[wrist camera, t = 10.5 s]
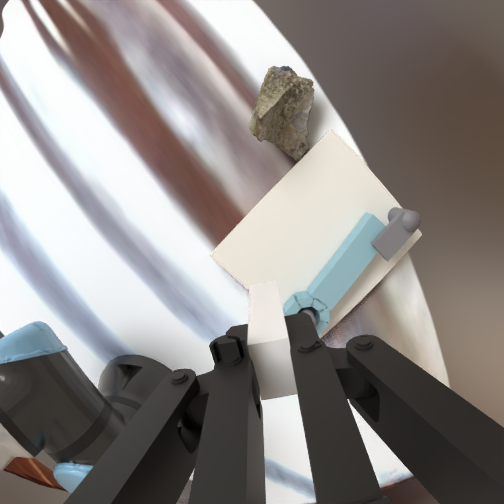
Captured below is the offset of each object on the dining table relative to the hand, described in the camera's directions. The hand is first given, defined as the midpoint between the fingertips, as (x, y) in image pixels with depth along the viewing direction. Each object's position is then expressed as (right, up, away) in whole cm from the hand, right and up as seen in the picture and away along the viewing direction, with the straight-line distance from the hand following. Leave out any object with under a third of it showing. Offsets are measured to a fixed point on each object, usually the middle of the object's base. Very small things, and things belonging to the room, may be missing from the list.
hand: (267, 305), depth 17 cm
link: (+10, 0, +21) cm, 23 cm away
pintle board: (+8, +4, +22) cm, 24 cm away
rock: (+3, +20, +19) cm, 28 cm away
